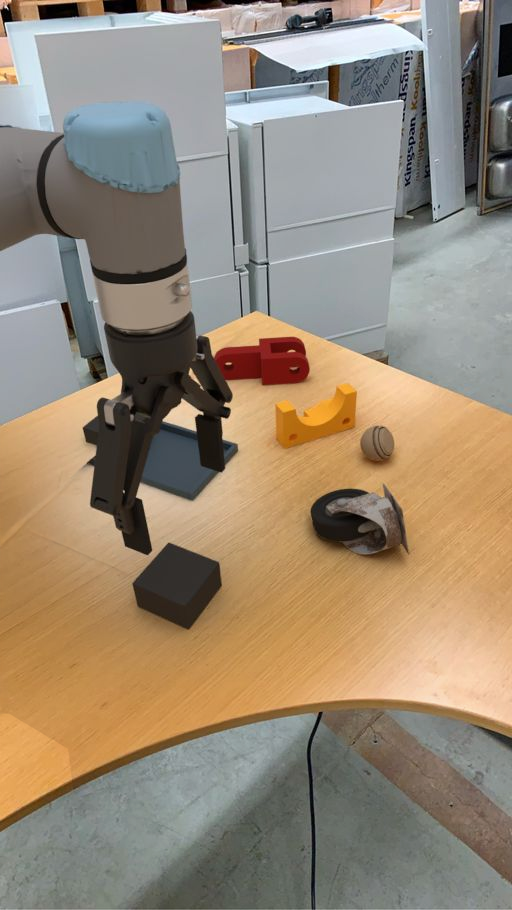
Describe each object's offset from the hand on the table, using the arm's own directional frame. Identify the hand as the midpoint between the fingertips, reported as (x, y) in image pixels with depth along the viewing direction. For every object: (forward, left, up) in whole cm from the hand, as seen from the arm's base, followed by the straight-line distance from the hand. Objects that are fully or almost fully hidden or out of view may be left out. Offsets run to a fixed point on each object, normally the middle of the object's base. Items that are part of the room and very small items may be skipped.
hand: (178, 505), depth 67 cm
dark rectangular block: (-1, -1, -14) cm, 14 cm away
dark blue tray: (-19, +19, -14) cm, 30 cm away
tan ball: (+10, +33, -14) cm, 37 cm away
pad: (-25, +19, -13) cm, 34 cm away
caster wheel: (+13, +17, -14) cm, 26 cm away
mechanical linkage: (-16, +46, -14) cm, 50 cm away
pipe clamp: (-1, +35, -14) cm, 38 cm away
